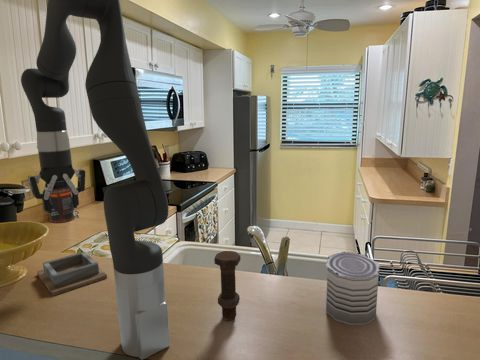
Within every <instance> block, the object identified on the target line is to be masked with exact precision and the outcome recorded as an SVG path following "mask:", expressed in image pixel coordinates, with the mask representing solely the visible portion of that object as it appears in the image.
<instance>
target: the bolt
mask: <svg viewBox="0 0 480 360" xmlns="http://www.w3.org/2000/svg"><path fill="white" fill-rule="evenodd" d="M213 261H214V265H217V266H219V271H220V287H221V290H220V291H221V292H220V293H219V294H218V297H217V304H218V305H219V306H220V307H221V314H222V318H223V319H224V320H225V321H233V320H235V319H236V318H237V306H238V305H239V303H240V294H239V293H237V292H236V287H237V286H236V269H237V268H236V267H238V265H239V264H240V262H241V254H240V253H238V252H236V251H235V250H222V251H219V252H218V253H216V254H215V256H214V260H213Z"/></svg>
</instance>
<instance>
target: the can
mask: <svg viewBox="0 0 480 360" xmlns="http://www.w3.org/2000/svg"><path fill="white" fill-rule="evenodd" d="M325 266H326V267H327V270H326V271H327V272H326V273H327V274H326V275H327V277H326V300H325V302H326V303H325V306H326V307H325V313H326V314H328V316H330V317H331V318H332V319H333V320H334V321H336V322H339V323H342V324H346V325H348V326H367V325H368V324H370V323H371V322H373V321H374V320H376V317H377V305H378V303H377V302H378V289H379V288H378V287H379V275H380V263H378V262H377V261H375V260H374V259H372V258H370V257H369V256H367V255H365V254H362V253H355V252H349V251H341V252H339V253H335V254H331V255H328V257H327V260H326V264H325Z"/></svg>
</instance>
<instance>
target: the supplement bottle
mask: <svg viewBox="0 0 480 360" xmlns="http://www.w3.org/2000/svg"><path fill="white" fill-rule="evenodd" d="M48 199H49V200H50V206H51V213H49V215H50V220H51V222H52V223H54V224H65V223H69V222H72V221H73V220H74V219H75V218H76V214H75V208H74V205H73V197H72V190H71V189H70V188H69V187H68V186H67V185H66V181H65V180H62V181H56V182H55V184H54V187H53V189H52V192H50V196H49V198H48Z"/></svg>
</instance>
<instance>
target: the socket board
mask: <svg viewBox="0 0 480 360" xmlns="http://www.w3.org/2000/svg"><path fill="white" fill-rule="evenodd" d="M42 266H43V269H41V270H37V273H36V274H37V276H38V277H39V279H40V280H41V281H42V283H43V284H44V286H45V287H46V288H47V290H48V291H49V293H50V294H51V295H52V296H53V297H54V296H56V295H61V294H63V293H66V292H69V291H72V290H75V289H78V288H81V287H84V286H86V285H90V284H92V283H96V282H99V281H102V280H105V279H108V274H107V273H106V272H104V271H103V270H102V269H101V268H100V267H99V263H98V262H97V261H96V260H95V259H93V257H91V256H90V255H89V254H88V253H87V252H86V251H81V252H78V253H74V254H70V255H67V256H62V257H59V258H55V259H51V260H48V261H44V262H42Z"/></svg>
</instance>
